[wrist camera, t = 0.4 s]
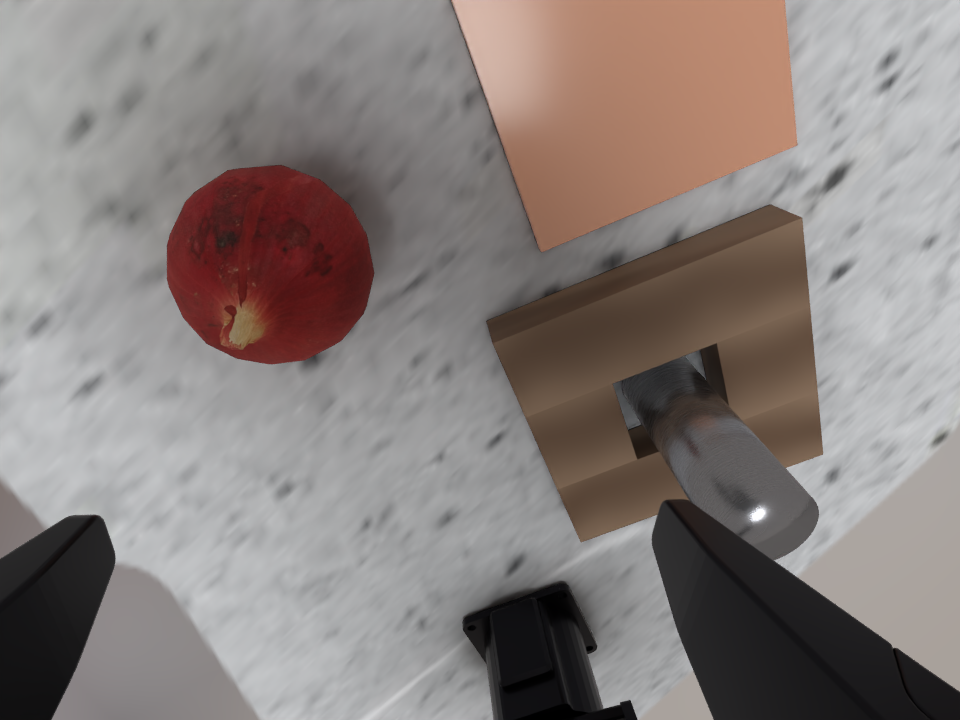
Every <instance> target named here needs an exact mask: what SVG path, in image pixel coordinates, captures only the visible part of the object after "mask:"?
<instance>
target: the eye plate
mask: <svg viewBox="0 0 960 720" xmlns="http://www.w3.org/2000/svg"><path fill="white" fill-rule="evenodd" d="M487 325H488V328H489V332H490V336H491V339H492V343H493V345H494V348H495V350H496V352H497V354H498V357H499V359H500V361H501V363H502V366H503V368H504V370H505V372H506V375H507V377H508V379H509V381H510V384H511V386H512V388H513V390H514V393H515V395H516V397H517V399H518V402H519V404H520V406H521V408H522V411H523V413H524V415H525V417H526V420H527V422H528V424H529V426H530V429H531V431H532V433H533V435H534V438H535V440H536V442H537V445H538V447H539V449H540V451H541V454H542V456H543V458H544V460H545V463H546V465H547V467H548V469H549V472H550V474H551V476H552V478H553V481H554V483H555V485H556V487H557V490H558V492H559V494H560V496H561V499H562V501H563V503H564V505H565V508H566V510H567V512H568V514H569V517H570V519H571V521H572V523H573V526H574V528H575V530H576V532H577V535H578V537H579V539H580V542H583V541H586V540H589V539H592V538H594V537H597V536H600V535H603V534H605V533H608V532H611V531H614V530H616V529H619V528H622V527H625V526H627V525H630V524H633V523H636V522H638V521H641V520H644V519H647V518H649V517H652V516H655V515H658V512H659V508H660V505H661V503H662V502H663V501H664V500H668V499H686V500H689V499H688V497H687V496H686V494H685V493H684V491H683V489H682V488H681V486H680V485H679V483H678V481H677V480H676V478H675V477H674V475H673V473H672V472H671V470H670V469H669V467H668V465H667V464H666V462H665V461H664V459H663V457H662V456H661V454H660V453H659V451H658V449H657V448H656V446H655V445H654V443H653V441H652V440H651V438H650V437H649V435H648V433H647V432H646V430H645V429H644V427H643V425H641V426H639V427H636V428H633V429H631V430H627V426H626V423H625V420H624V417H623V414H622V411H621V408H620V405H619V402H618V399H617V396H616V393H615V390H614V386H613V383H616V382H618V381H621V380H623V379H626V378H628V377H631V376H634V375H636V374H639V373H641V372H644V371H646V370H649V369H651V368H654V367H657V366H659V365H662V364H664V363H667V362H669V361H672V360H675V359H677V358H680V357H682V356H685V355H687V354H690V353H692V352H695V351H698V350H701V355H702V360H703V364H704V369H705V373H706V378H707V382H708V383H709V384H710V385H711V386H712V387H713V389H714V390H715V391H716V392H717V393H718V394H719V395H720V396H721V397H722V399H723V400H724V401H725V402H726V403H727V404H728V405H729V406H730V407H731V409H732V410H733V411H734V412H735V413H736V414H737V415H738V416H739V417H740V418H741V420H742V421H743V422H744V423H745V424H746V425H747V426H748V427H749V428H750V430H751V431H752V432H753V433H754V434H755V435H756V436H757V437H758V438H759V439H760V441H761V442H762V443H763V444H764V445H765V446H766V447H767V448H768V449H769V451H770V452H771V453H772V454H773V455H774V456H775V457H776V458H777V459H778V461H779V462H780V463H781V464H782V465H783V466H784V467H785V468H787V467H790V466H792V465H795V464H798V463H801V462H803V461H806V460H809V459H812V458H814V457H817V456H820V455H823V447H822V436H821V424H820V413H819V402H818V391H817V379H816V368H815V357H814V346H813V334H812V323H811V312H810V301H809V289H808V278H807V267H806V256H805V244H804V233H803V222H802V218H801V217H799V216H797V215H794V214H792V213H789V212H787V211H785V210H782V209H780V208H778V207H775V206H773V205H768V206H766V207H763V208H761V209H758V210H756V211H754V212H751V213H749V214H746V215H744V216H741V217H739V218H736V219H734V220H732V221H729V222H727V223H724V224H722V225H719V226H717V227H715V228H712V229H710V230H707V231H705V232H702V233H700V234H697V235H695V236H693V237H690V238H688V239H685V240H683V241H680V242H678V243H676V244H673V245H671V246H668V247H666V248H663V249H661V250H659V251H656V252H654V253H651V254H649V255H646V256H644V257H641V258H639V259H637V260H634V261H632V262H629V263H627V264H624V265H622V266H620V267H617V268H615V269H612V270H610V271H607V272H605V273H602V274H600V275H598V276H595V277H593V278H590V279H588V280H585V281H583V282H581V283H578V284H576V285H573V286H571V287H568V288H566V289H563V290H561V291H559V292H556V293H554V294H551V295H549V296H546V297H544V298H542V299H539V300H537V301H534V302H532V303H529V304H527V305H525V306H522V307H520V308H517V309H515V310H512V311H510V312H507V313H505V314H503V315H500V316H498V317H495V318H493V319H490V320H488V321H487Z"/></svg>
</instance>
